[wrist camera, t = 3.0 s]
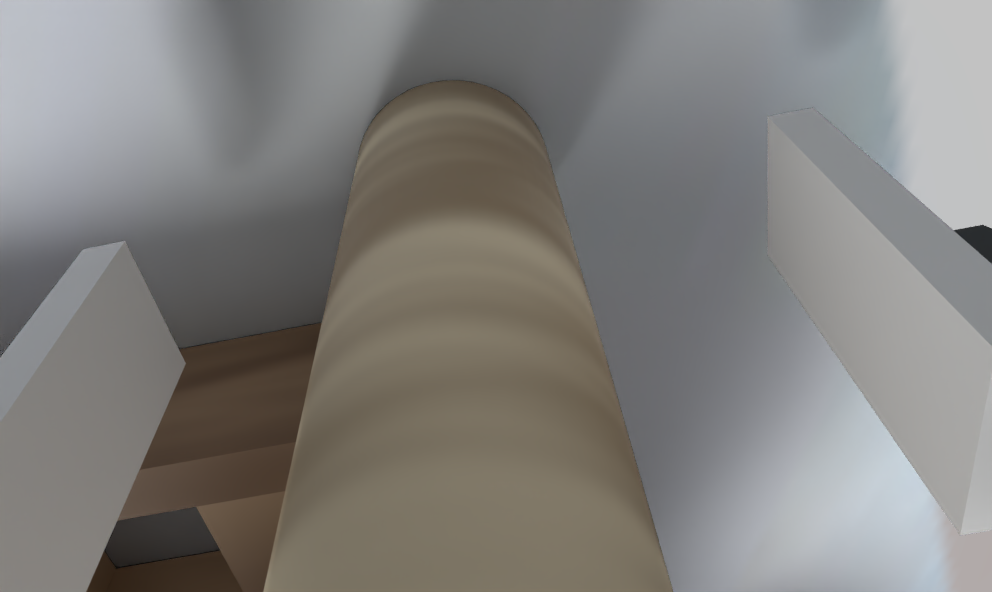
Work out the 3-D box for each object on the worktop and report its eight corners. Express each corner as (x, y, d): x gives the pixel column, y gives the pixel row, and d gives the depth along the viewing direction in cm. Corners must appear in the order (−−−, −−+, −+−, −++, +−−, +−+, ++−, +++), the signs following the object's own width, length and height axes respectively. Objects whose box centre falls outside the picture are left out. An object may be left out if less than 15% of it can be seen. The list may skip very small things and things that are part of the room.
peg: (333, 101, 16) (149, 659, 6) (532, 62, 16) (697, 567, 6) (384, 271, 18) (314, 894, 8) (560, 238, 18) (716, 832, 8)
